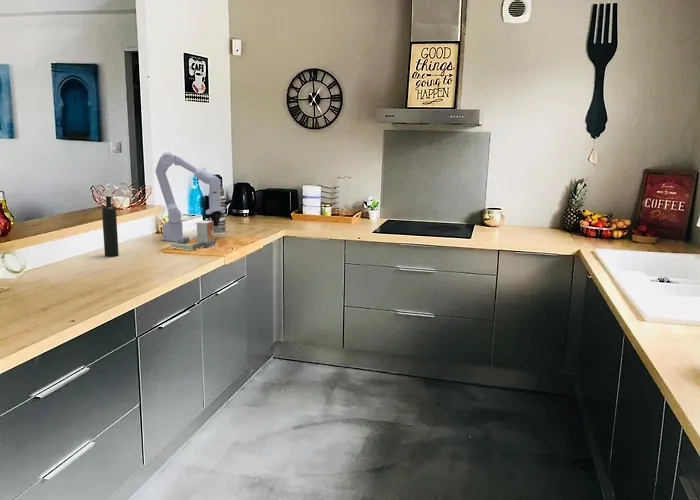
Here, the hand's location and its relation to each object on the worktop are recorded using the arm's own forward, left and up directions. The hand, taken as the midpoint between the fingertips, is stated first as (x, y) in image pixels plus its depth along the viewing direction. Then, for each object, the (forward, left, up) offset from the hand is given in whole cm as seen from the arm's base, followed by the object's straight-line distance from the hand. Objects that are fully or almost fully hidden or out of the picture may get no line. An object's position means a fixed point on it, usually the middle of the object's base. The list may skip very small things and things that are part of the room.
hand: (215, 226), depth 306 cm
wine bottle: (-21, -54, -7) cm, 58 cm away
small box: (0, -10, -7) cm, 12 cm away
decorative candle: (-8, +14, -7) cm, 18 cm away
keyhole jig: (0, -23, -7) cm, 24 cm away
